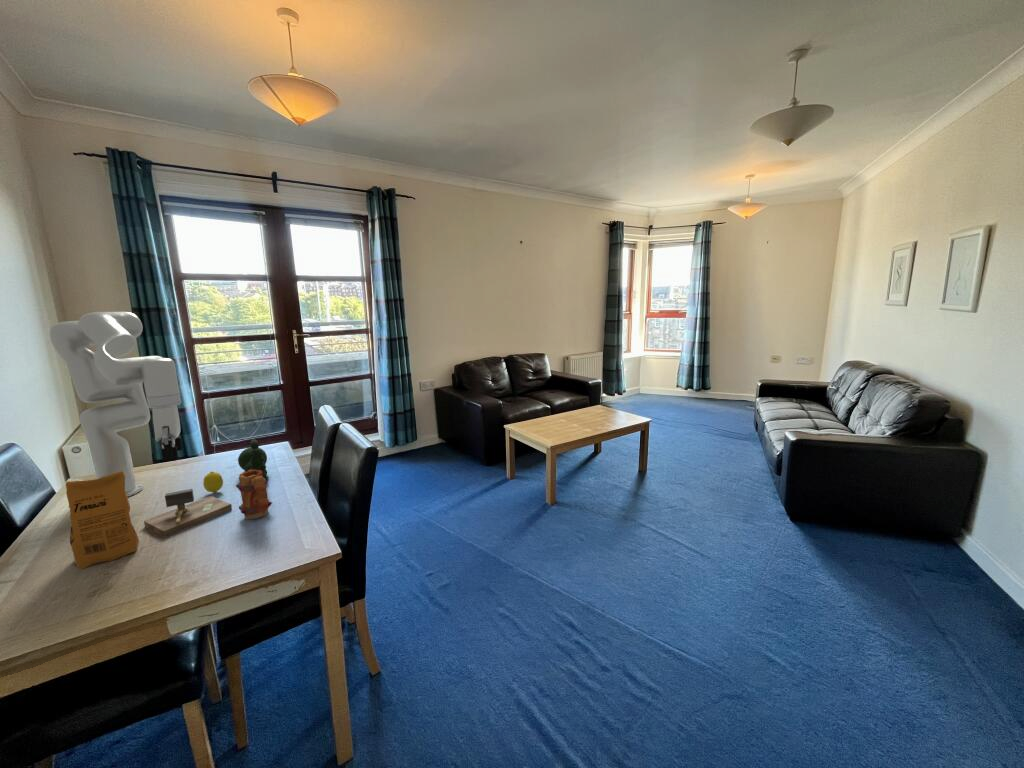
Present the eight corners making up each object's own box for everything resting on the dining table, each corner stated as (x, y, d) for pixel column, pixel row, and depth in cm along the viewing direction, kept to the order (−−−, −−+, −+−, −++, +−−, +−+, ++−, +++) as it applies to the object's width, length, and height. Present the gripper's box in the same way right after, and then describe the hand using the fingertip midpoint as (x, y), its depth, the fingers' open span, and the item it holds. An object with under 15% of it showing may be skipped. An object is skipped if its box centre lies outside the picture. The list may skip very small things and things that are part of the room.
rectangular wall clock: (144, 526, 121) (143, 520, 121) (211, 501, 137) (210, 495, 137) (164, 537, 116) (163, 530, 115) (231, 509, 132) (231, 503, 131)
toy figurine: (276, 490, 149) (265, 463, 168) (271, 442, 144) (260, 420, 163) (246, 497, 143) (237, 469, 162) (239, 448, 138) (232, 425, 157)
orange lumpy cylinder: (237, 514, 128) (231, 470, 125) (266, 505, 134) (260, 462, 131) (251, 532, 119) (244, 484, 116) (281, 521, 125) (276, 475, 122)
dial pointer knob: (169, 512, 125) (166, 493, 124) (195, 507, 129) (192, 488, 128) (164, 526, 118) (160, 505, 116) (191, 520, 121) (188, 500, 120)
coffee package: (77, 554, 108) (59, 477, 104) (140, 537, 116) (126, 465, 112) (71, 573, 101) (52, 490, 96) (139, 553, 108) (124, 476, 104)
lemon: (214, 497, 140) (211, 475, 138) (201, 495, 141) (197, 474, 140) (228, 490, 145) (225, 469, 144) (215, 488, 146) (212, 467, 145)
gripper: (153, 396, 125) (162, 449, 128) (141, 408, 110) (152, 467, 114) (184, 393, 129) (192, 445, 132) (176, 404, 114) (186, 462, 118)
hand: (173, 455), depth 123 cm, fingers open, 9 cm apart
